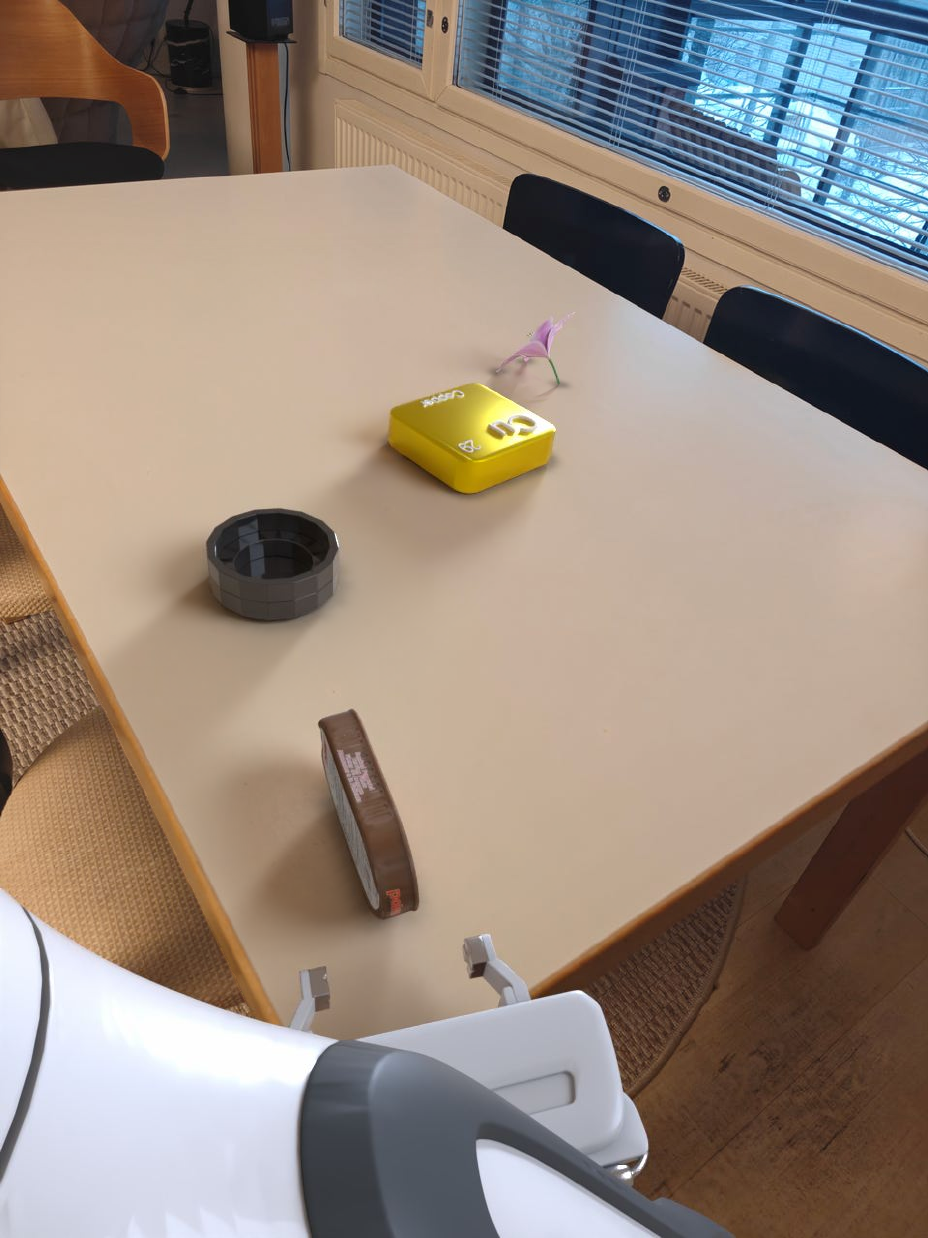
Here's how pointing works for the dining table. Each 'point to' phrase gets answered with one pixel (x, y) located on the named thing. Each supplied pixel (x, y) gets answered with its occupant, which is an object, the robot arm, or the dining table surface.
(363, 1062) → the robot arm
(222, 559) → the dark faceted ashtray
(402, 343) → the dining table surface
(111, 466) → the dining table surface
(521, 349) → the lily
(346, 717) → the tin
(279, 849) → the dining table surface
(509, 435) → the element tile
